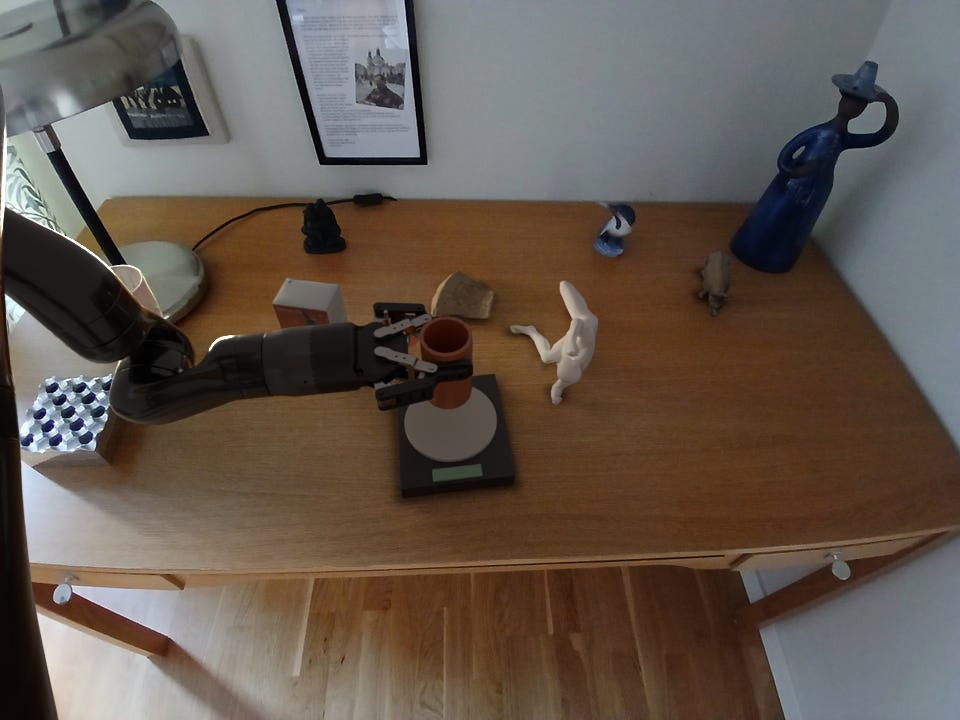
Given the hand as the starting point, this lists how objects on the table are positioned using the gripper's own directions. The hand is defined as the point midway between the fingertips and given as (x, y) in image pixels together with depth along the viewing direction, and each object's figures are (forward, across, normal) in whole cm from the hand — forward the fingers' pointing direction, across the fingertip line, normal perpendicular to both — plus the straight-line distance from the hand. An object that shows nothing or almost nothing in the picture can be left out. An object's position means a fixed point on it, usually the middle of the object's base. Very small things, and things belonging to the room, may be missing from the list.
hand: (468, 345), depth 62 cm
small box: (-20, +18, +18) cm, 32 cm away
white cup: (-47, +24, +18) cm, 56 cm away
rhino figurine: (+43, +20, +17) cm, 50 cm away
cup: (-2, 0, +8) cm, 8 cm away
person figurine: (+16, +10, +18) cm, 26 cm away
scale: (-2, -1, +17) cm, 17 cm away
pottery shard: (+3, +24, +18) cm, 30 cm away
